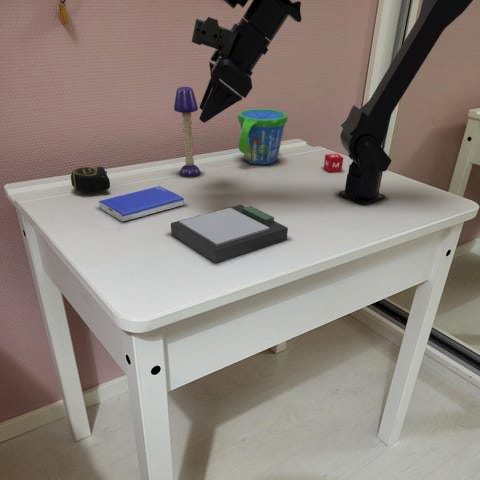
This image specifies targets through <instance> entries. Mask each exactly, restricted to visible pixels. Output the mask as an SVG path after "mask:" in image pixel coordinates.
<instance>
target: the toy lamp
mask: <svg viewBox="0 0 480 480" xmlns="http://www.w3.org/2000/svg"><path fill="white" fill-rule="evenodd" d="M173 110H174V111H175V112H177V113H181V117H182V126H183V128H182V130H183V131H182V132H183V142H184V145H183V147H184V157H185V160H184V162H185V164H184V165H183V166H182V167H181V168H180V171H179V174H180V176H182V177H184V178H194V177H198V176H200V175H201V170H200V168H199V166H198V165H196V164H195V160H194V144H193V139H194V138H193V128H192V124H193V122H192V119H191V118H192V113H195V112H197V111H198V110H199V106H198V103H197V99H196V96H195V92H194V89H193V87H191V86H179V87H177V89H176V92H175V98H174V104H173Z"/></svg>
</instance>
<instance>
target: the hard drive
mask: <svg viewBox="0 0 480 480" xmlns="http://www.w3.org/2000/svg"><path fill="white" fill-rule="evenodd" d="M184 199H185V198H184V197H183V196H182V195H179V194H177V193H175V192H173V191H171V190H169V189H167V188H164V187H162V186H161V185H158V186H154V187H149V188H146V189H142V190H137V191H134V192H130V193H126V194H122V195H117V196H112V197H109V198H105V199H102V200H101V199H100V200H99V201H98V207H99V209H100V210H102V211H104V212H105V213H107V214H108V215H110V216H112V217H114V218H115V219H117V220H119V221H120V222H126V221H130V220H134V219H137V218H141V217H146V216H148V215H151V214H152V215H153V214H155V213H159V212H163V211H167V210H170V209H173V208H178V207H181V206H184V205H185V200H184Z"/></svg>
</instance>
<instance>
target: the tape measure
mask: <svg viewBox="0 0 480 480" xmlns="http://www.w3.org/2000/svg"><path fill="white" fill-rule="evenodd" d="M107 173H108V171H107V170H105V168H104V167H103V166H98V167H96V166H95V167H94V166H81V167H78V168H75V169H73V170H72V171H71V174H70V182H71V186H72V187H73V189H74V190H76V191H77V192H80V193H84V194H89V193H90V194H93V193H98V192H104V191H108V190H109V189H110V188H111V181H110V178H109V175H108V174H107Z"/></svg>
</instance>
